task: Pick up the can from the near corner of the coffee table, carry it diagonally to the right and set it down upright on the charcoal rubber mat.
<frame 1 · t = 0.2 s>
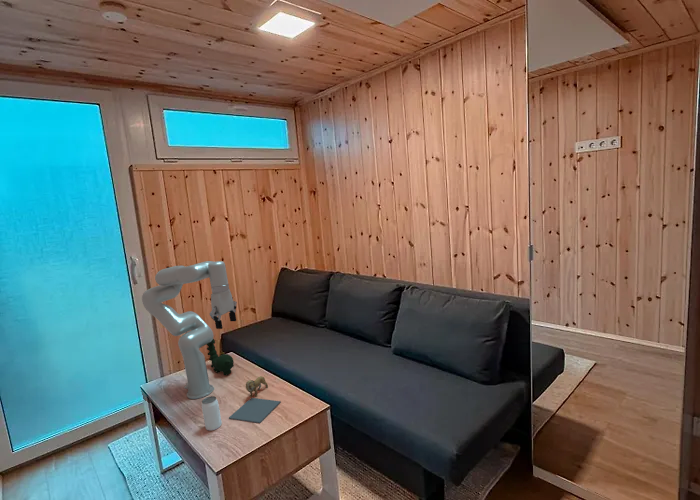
hand: (226, 324, 174), 36 cm above the table, tool pointing down, fingers open, 9 cm apart
lion figurine: (258, 393, 182), on the table
toy figurine: (222, 371, 212), on the table
can: (213, 426, 159), on the table
mat: (255, 410, 167), on the table
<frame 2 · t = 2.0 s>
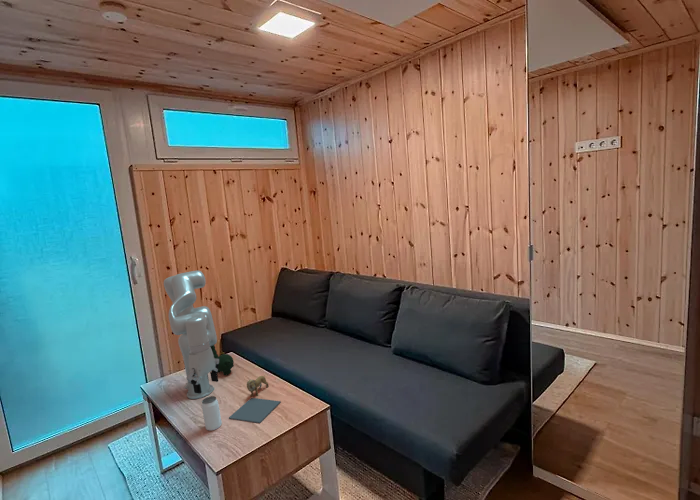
hand: (206, 386, 156), 18 cm above the table, tool pointing down, fingers open, 9 cm apart
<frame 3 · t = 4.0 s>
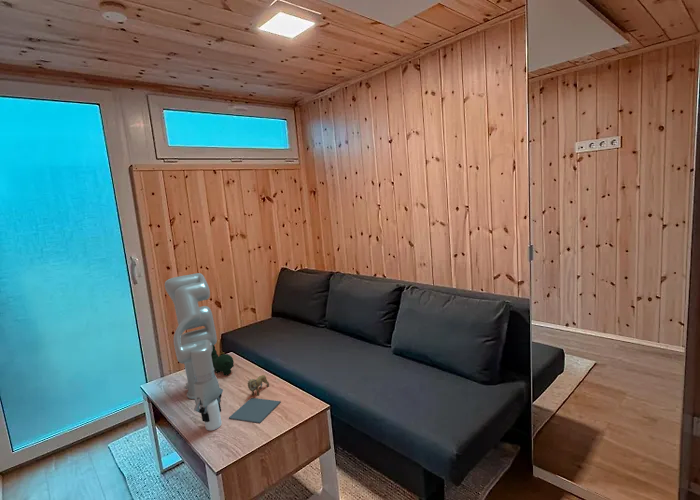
hand: (212, 416, 158), 5 cm above the table, tool pointing down, fingers closed on can, 6 cm apart
can: (213, 426, 159), on the table, touching gripper
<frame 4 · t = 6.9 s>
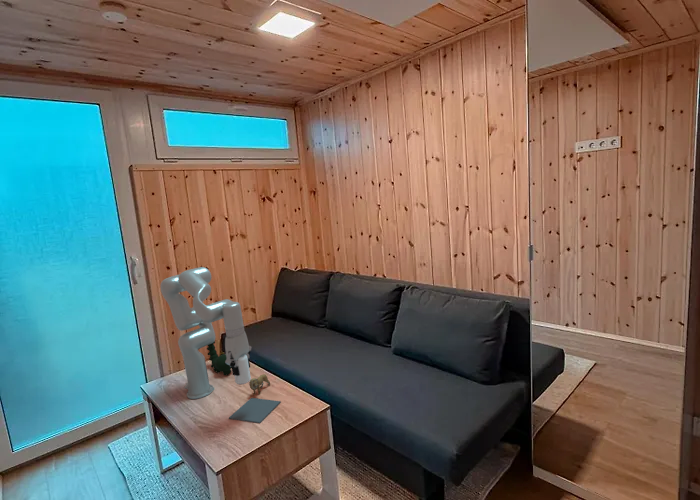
hand: (241, 370, 163), 20 cm above the table, tool pointing down, fingers closed on can, 6 cm apart
can: (243, 381, 163), point 15 cm above the table, touching gripper
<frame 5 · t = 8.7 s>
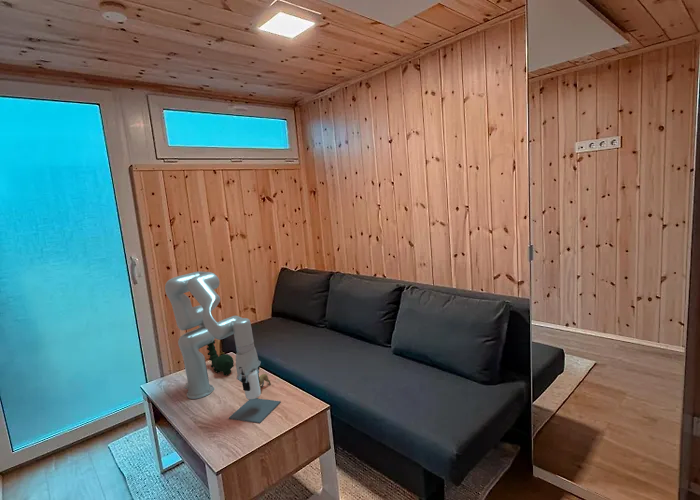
hand: (251, 385, 166), 12 cm above the table, tool pointing down, fingers closed on can, 6 cm apart
can: (253, 396, 166), point 7 cm above the table, touching gripper
when the fingers open (6 cm above the table, at t = 10.2 s): can drops 1 cm, resting on mat.
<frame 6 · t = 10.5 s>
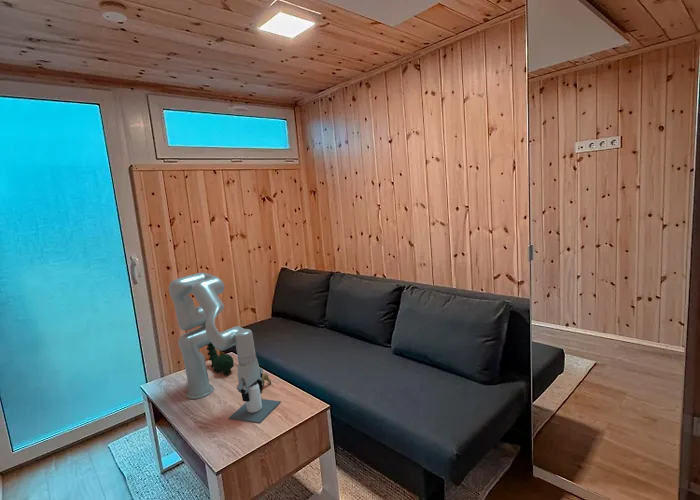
hand: (253, 395, 166), 7 cm above the table, tool pointing down, fingers open, 9 cm apart
can: (255, 409, 167), resting on mat
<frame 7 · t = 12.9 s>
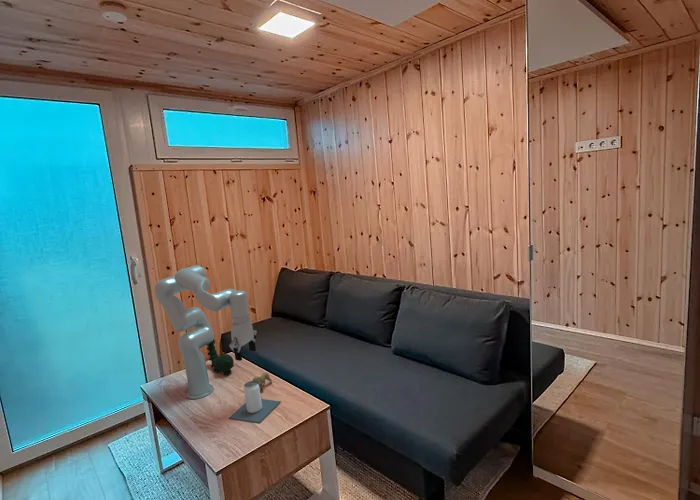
hand: (246, 355, 170), 23 cm above the table, tool pointing down, fingers open, 9 cm apart
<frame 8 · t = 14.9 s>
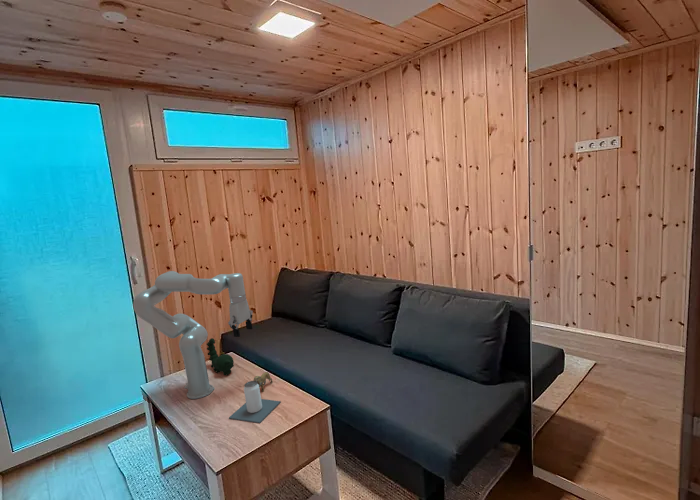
hand: (243, 332, 185), 28 cm above the table, tool pointing down, fingers open, 9 cm apart
at the end: can 0.2 cm from the mat (horizontally); can tilted 0°; the gripper is holding nothing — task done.
